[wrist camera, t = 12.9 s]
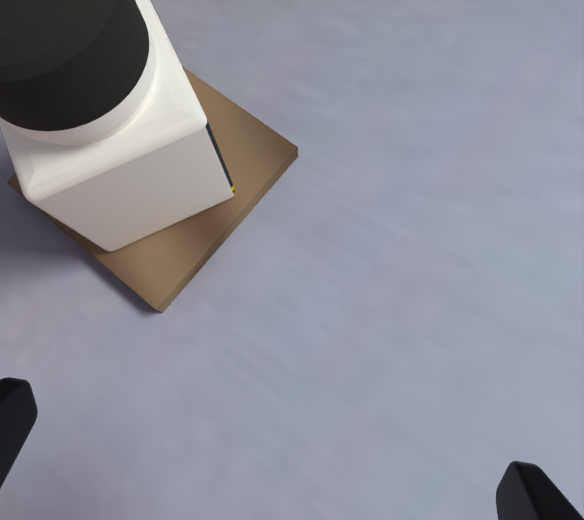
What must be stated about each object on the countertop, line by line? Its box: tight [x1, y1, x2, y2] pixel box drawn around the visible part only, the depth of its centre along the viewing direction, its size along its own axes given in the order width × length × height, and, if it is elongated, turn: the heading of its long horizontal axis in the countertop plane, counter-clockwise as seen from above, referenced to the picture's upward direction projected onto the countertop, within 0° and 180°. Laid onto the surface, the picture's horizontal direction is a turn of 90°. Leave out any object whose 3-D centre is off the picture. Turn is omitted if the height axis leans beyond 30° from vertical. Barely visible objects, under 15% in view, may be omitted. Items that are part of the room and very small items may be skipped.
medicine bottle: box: [0, 0, 235, 252], centre depth 18 cm, size 7×7×12 cm
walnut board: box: [7, 67, 298, 313], centre depth 24 cm, size 11×11×1 cm
